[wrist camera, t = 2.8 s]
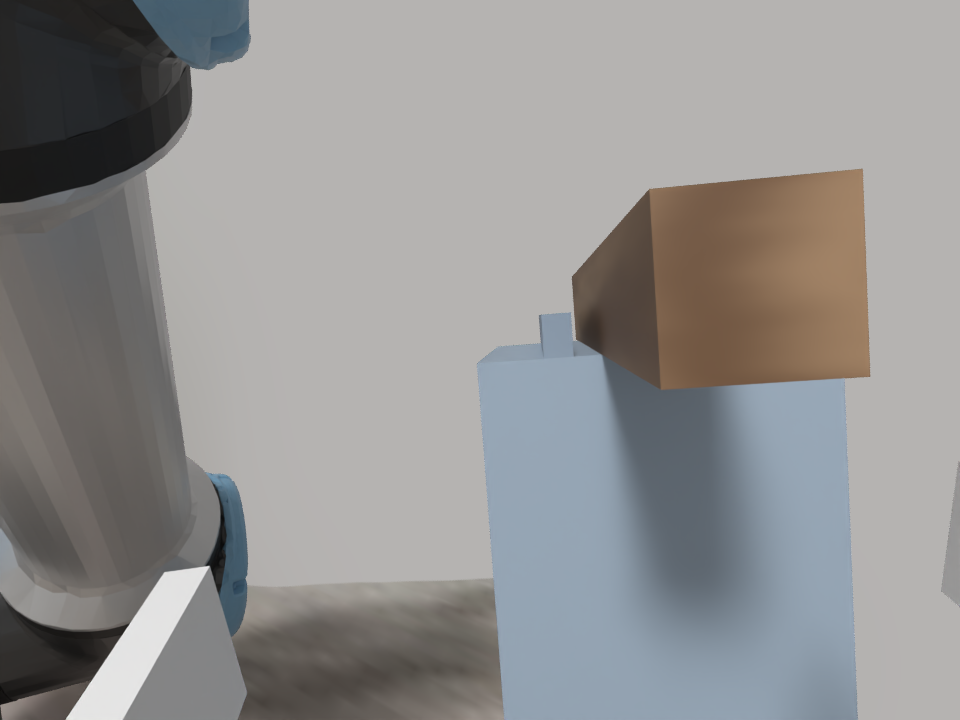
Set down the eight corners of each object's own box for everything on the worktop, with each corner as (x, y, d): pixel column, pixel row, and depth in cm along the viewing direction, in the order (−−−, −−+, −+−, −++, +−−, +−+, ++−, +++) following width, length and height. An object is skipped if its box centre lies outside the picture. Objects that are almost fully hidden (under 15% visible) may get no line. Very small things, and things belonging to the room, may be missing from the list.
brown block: (660, 390, 11) (649, 188, 11) (576, 339, 35) (571, 277, 34) (870, 376, 11) (862, 168, 10) (639, 334, 34) (635, 271, 34)
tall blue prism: (538, 1159, 23) (473, 319, 21) (537, 872, 35) (496, 318, 33) (875, 1177, 22) (840, 291, 20) (755, 874, 34) (726, 301, 32)
